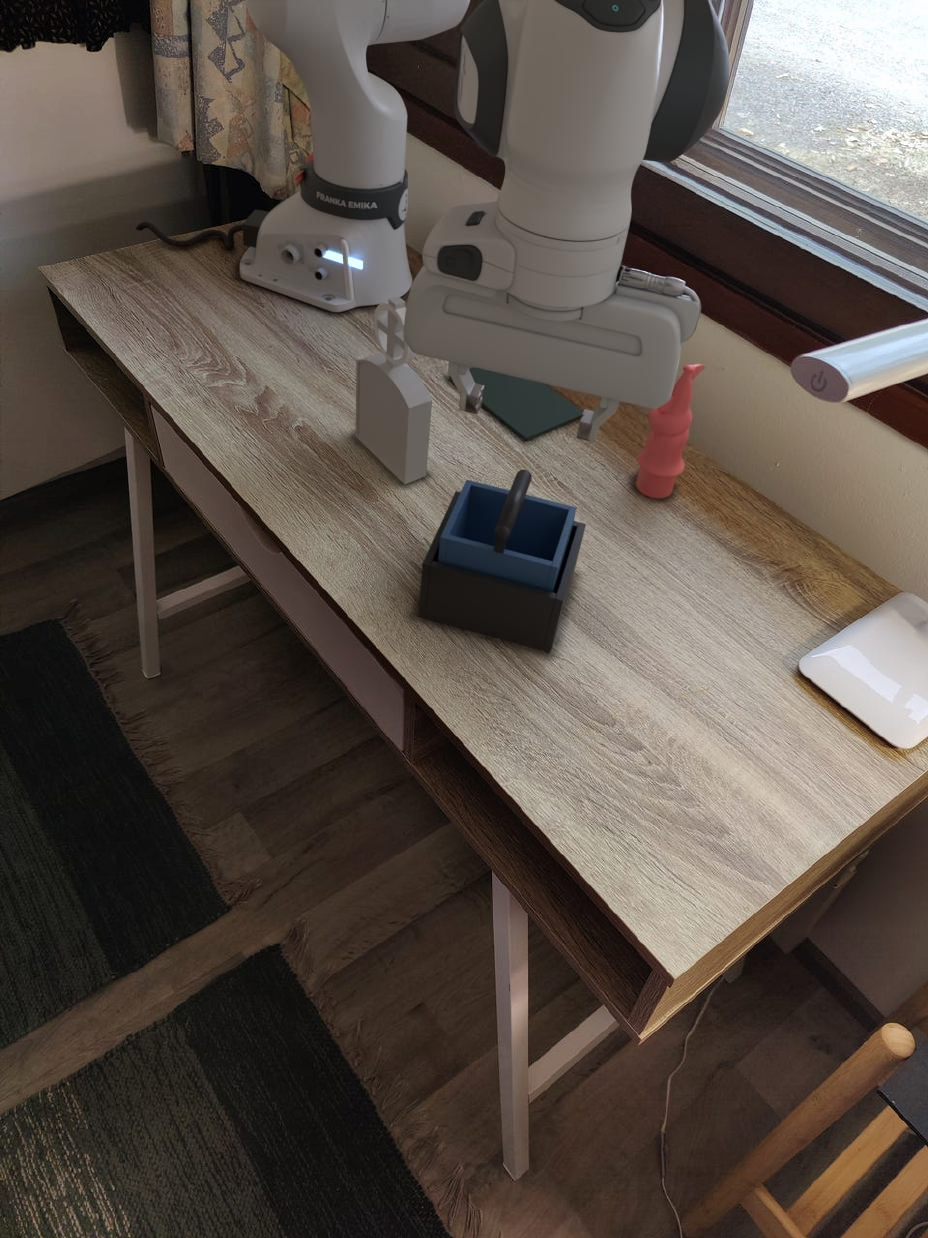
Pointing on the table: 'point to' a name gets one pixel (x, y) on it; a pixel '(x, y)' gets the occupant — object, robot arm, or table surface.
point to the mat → (524, 403)
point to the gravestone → (393, 399)
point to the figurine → (667, 439)
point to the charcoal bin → (495, 597)
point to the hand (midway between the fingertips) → (528, 422)
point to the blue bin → (508, 534)
